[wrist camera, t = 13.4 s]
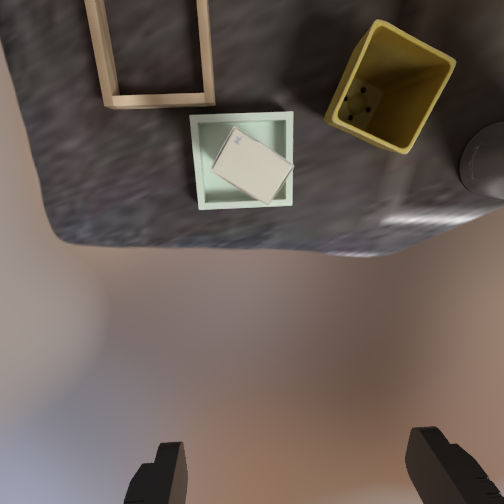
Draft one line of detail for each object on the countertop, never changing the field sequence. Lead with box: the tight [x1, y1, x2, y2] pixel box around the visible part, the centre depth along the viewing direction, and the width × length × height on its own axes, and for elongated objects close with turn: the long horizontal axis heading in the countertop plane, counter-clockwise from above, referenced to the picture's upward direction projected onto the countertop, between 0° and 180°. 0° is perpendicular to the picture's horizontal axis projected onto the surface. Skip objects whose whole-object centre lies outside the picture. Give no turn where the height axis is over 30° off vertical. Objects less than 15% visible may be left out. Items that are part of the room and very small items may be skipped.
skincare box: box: [211, 126, 294, 205], centre depth 30 cm, size 6×4×12 cm
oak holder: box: [84, 0, 216, 110], centre depth 30 cm, size 12×13×2 cm
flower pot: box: [324, 19, 456, 154], centre depth 31 cm, size 9×9×9 cm
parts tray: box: [189, 111, 293, 210], centre depth 35 cm, size 12×11×3 cm
